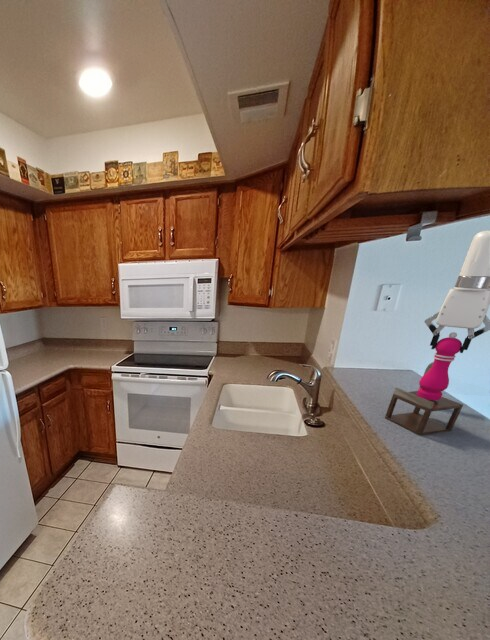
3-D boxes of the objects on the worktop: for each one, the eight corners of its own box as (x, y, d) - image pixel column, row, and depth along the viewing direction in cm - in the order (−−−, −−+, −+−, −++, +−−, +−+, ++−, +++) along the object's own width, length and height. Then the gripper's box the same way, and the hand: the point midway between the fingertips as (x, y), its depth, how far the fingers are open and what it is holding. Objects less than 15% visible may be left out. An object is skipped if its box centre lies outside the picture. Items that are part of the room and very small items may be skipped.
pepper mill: (440, 403, 99) (469, 336, 90) (412, 397, 104) (437, 332, 94) (443, 396, 104) (471, 331, 95) (416, 390, 108) (440, 328, 99)
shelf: (414, 414, 116) (426, 384, 110) (451, 430, 104) (466, 398, 99) (384, 418, 113) (395, 387, 108) (418, 435, 102) (432, 402, 96)
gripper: (517, 284, 86) (485, 352, 94) (436, 281, 96) (414, 343, 105) (518, 286, 81) (484, 358, 89) (432, 283, 91) (410, 348, 100)
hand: (447, 349), depth 97 cm, fingers closed on pepper mill, 6 cm apart
